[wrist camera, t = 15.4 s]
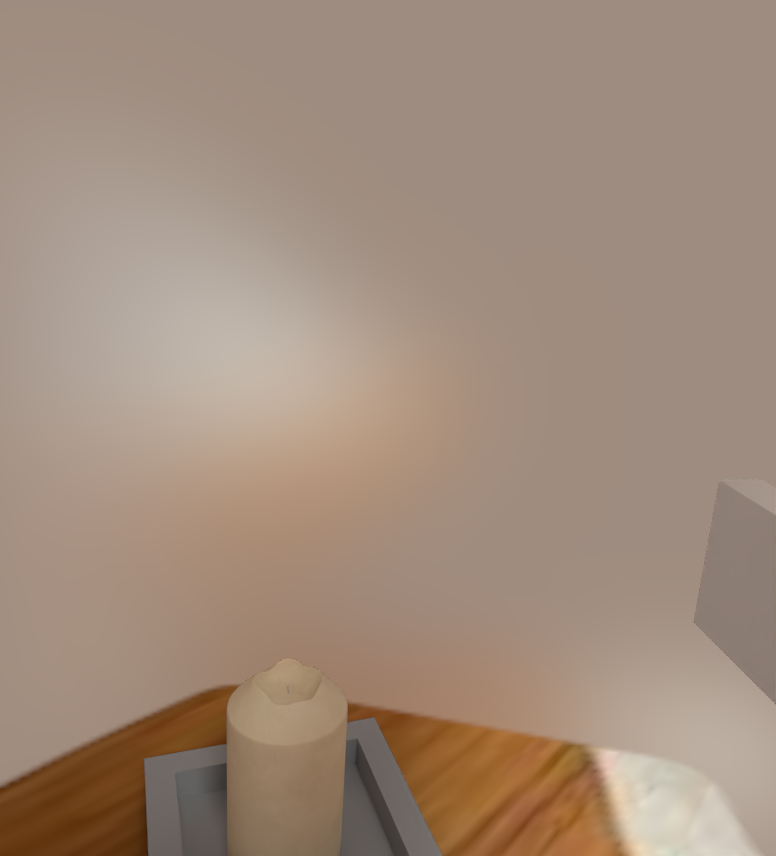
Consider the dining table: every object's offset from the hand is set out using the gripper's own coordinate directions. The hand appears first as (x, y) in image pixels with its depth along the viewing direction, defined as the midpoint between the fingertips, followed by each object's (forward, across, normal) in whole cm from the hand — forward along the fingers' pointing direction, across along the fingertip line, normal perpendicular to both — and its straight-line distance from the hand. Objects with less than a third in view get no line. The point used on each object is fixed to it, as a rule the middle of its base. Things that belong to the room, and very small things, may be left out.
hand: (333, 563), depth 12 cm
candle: (+18, 0, -25) cm, 31 cm away
